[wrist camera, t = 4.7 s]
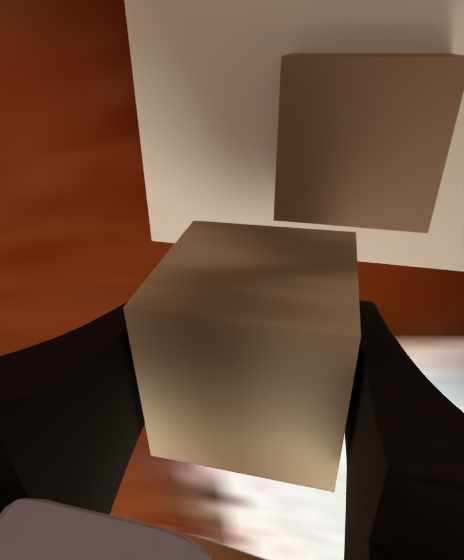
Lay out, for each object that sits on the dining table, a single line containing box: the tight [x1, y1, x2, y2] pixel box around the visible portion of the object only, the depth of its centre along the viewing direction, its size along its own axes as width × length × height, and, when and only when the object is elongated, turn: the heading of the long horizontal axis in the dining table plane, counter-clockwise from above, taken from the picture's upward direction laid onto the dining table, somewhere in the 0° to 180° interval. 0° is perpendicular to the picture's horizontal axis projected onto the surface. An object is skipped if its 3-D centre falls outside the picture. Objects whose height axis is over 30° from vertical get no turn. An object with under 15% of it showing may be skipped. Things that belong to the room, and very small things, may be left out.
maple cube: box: [123, 220, 361, 492], centre depth 12 cm, size 5×5×5 cm
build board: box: [124, 0, 464, 271], centre depth 17 cm, size 16×12×4 cm
